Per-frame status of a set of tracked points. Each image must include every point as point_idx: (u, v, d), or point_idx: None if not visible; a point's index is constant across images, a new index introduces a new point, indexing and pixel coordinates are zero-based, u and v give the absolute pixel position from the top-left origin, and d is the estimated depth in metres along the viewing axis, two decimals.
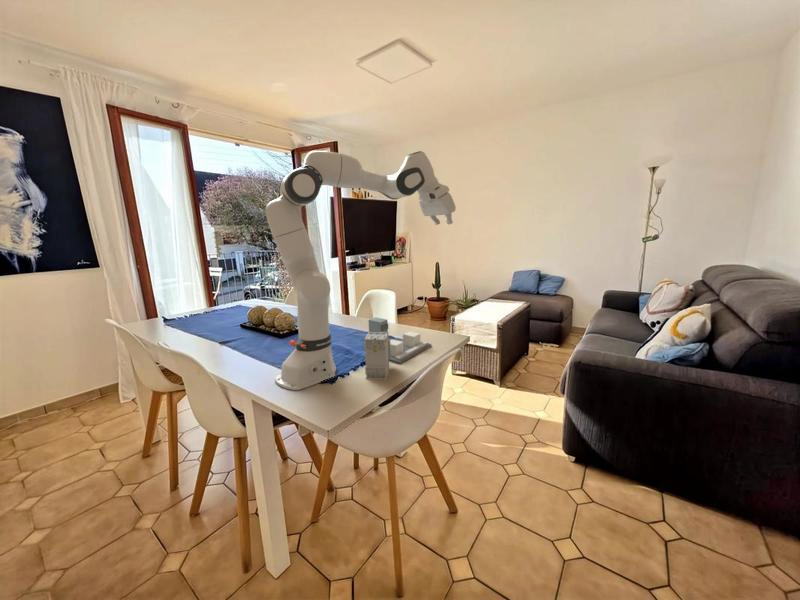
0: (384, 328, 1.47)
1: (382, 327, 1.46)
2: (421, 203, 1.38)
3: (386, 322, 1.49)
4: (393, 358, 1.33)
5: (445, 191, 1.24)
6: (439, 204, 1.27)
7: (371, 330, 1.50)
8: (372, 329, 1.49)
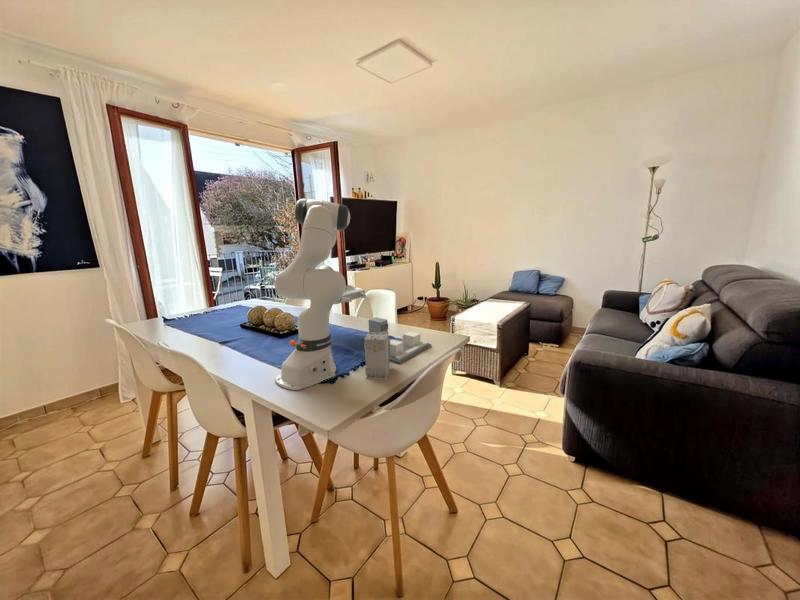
0: (384, 328, 1.47)
1: (382, 327, 1.46)
2: None
3: (386, 322, 1.49)
4: (393, 358, 1.33)
5: None
6: None
7: (371, 330, 1.50)
8: (372, 329, 1.49)
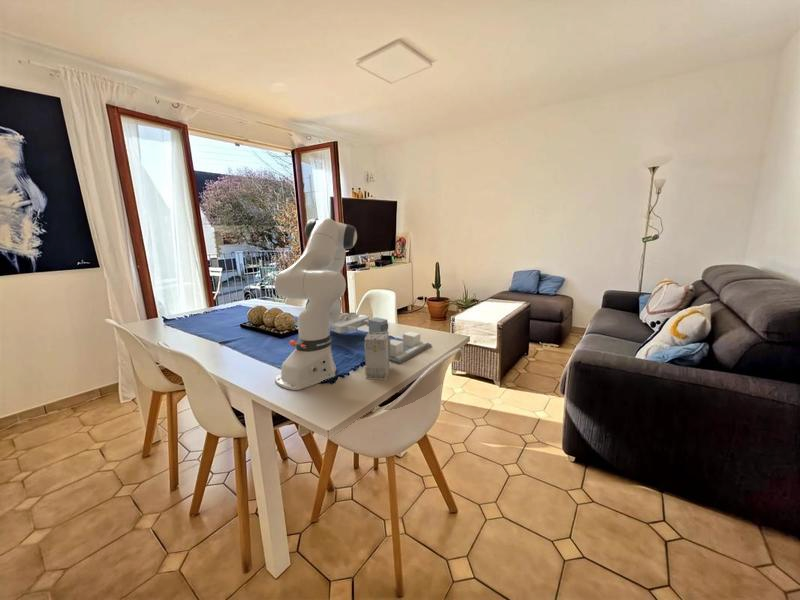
0: (384, 328, 1.47)
1: (382, 327, 1.46)
2: (336, 323, 1.56)
3: (386, 322, 1.49)
4: (393, 358, 1.33)
5: None
6: (357, 318, 1.65)
7: (371, 330, 1.50)
8: (372, 329, 1.49)
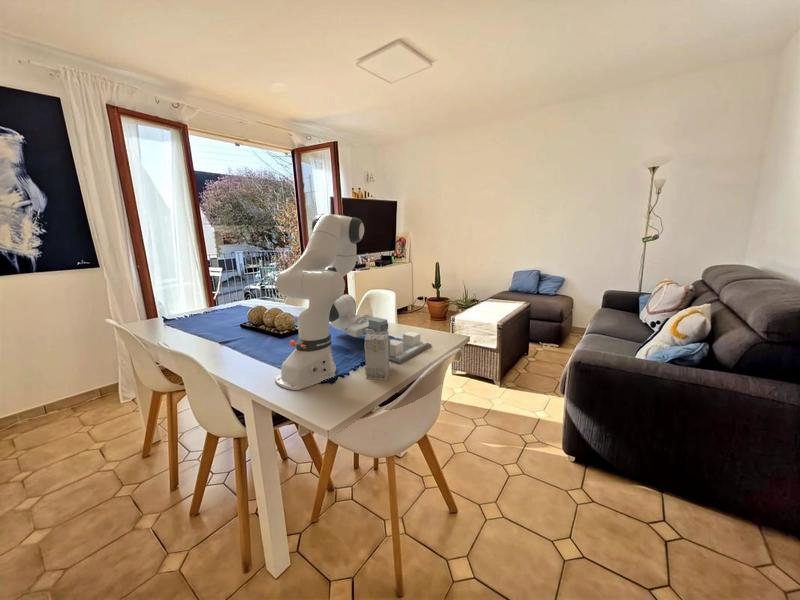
0: (384, 328, 1.47)
1: (382, 327, 1.46)
2: (351, 326, 1.50)
3: (386, 322, 1.49)
4: (393, 358, 1.33)
5: None
6: None
7: None
8: None
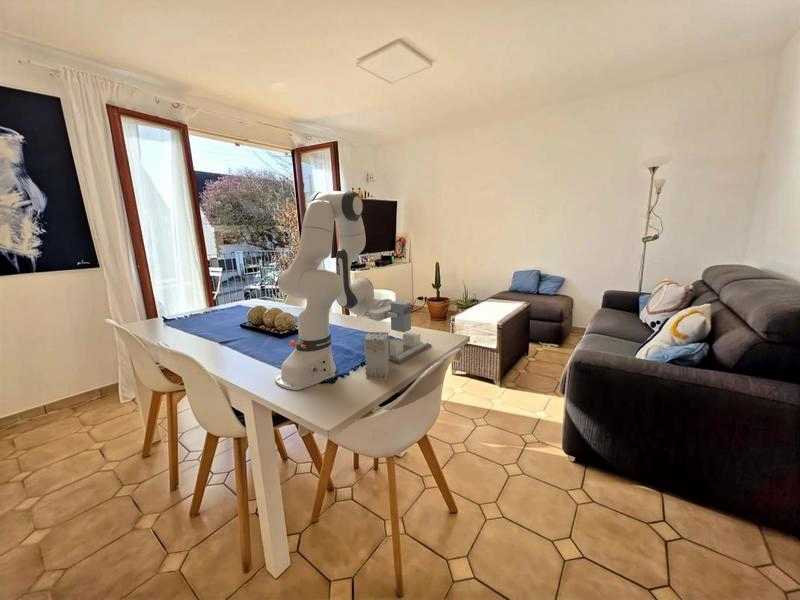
0: (407, 311, 1.38)
1: (406, 310, 1.37)
2: (372, 309, 1.40)
3: (409, 305, 1.39)
4: (393, 358, 1.33)
5: None
6: None
7: None
8: None
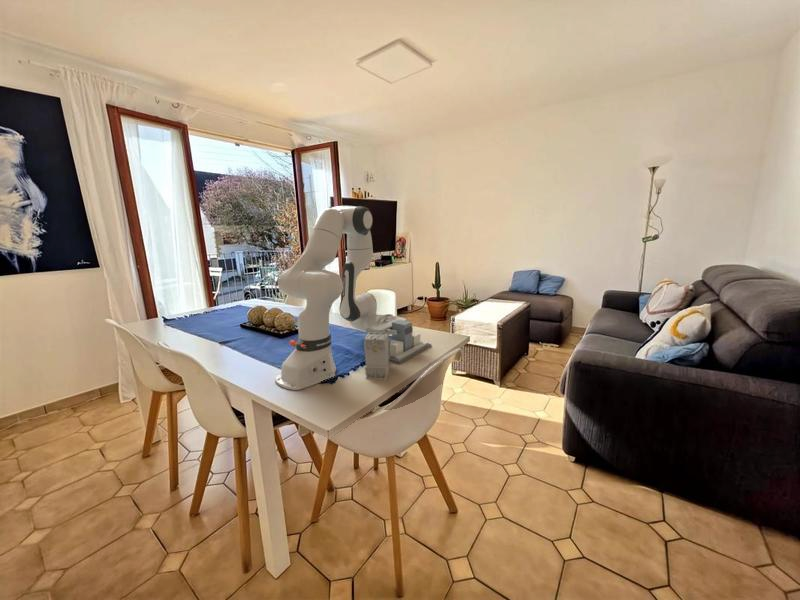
0: (408, 331, 1.39)
1: (407, 330, 1.38)
2: (373, 326, 1.42)
3: (410, 325, 1.41)
4: (393, 358, 1.33)
5: None
6: (394, 320, 1.51)
7: None
8: None
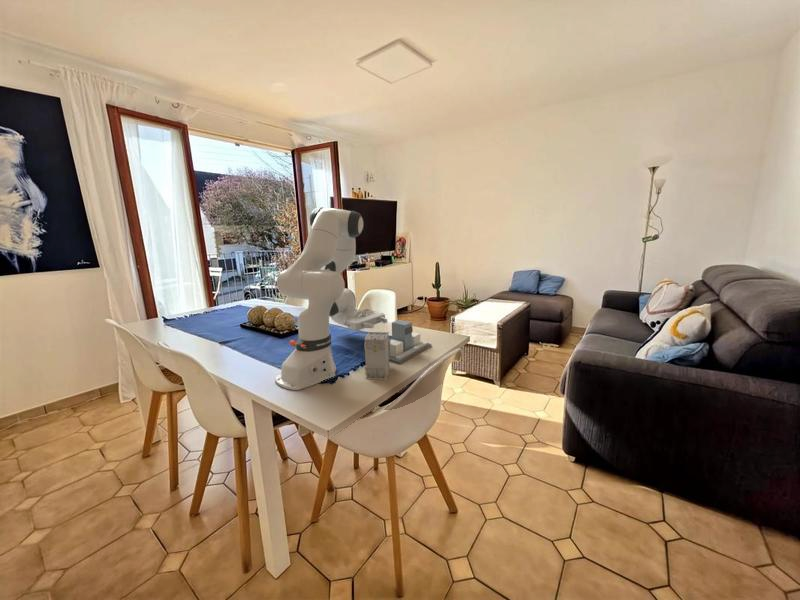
0: (408, 331, 1.39)
1: (407, 330, 1.38)
2: (351, 319, 1.49)
3: (410, 325, 1.41)
4: (393, 358, 1.33)
5: None
6: (372, 314, 1.58)
7: (394, 333, 1.41)
8: (395, 333, 1.41)
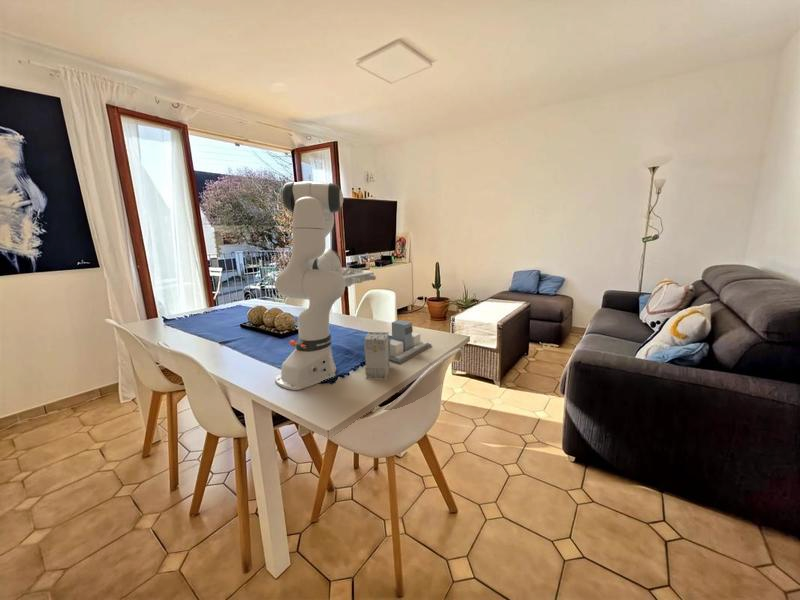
0: (408, 331, 1.39)
1: (407, 330, 1.38)
2: None
3: (410, 325, 1.41)
4: (393, 358, 1.33)
5: None
6: (361, 273, 1.57)
7: (394, 333, 1.41)
8: (395, 333, 1.41)
